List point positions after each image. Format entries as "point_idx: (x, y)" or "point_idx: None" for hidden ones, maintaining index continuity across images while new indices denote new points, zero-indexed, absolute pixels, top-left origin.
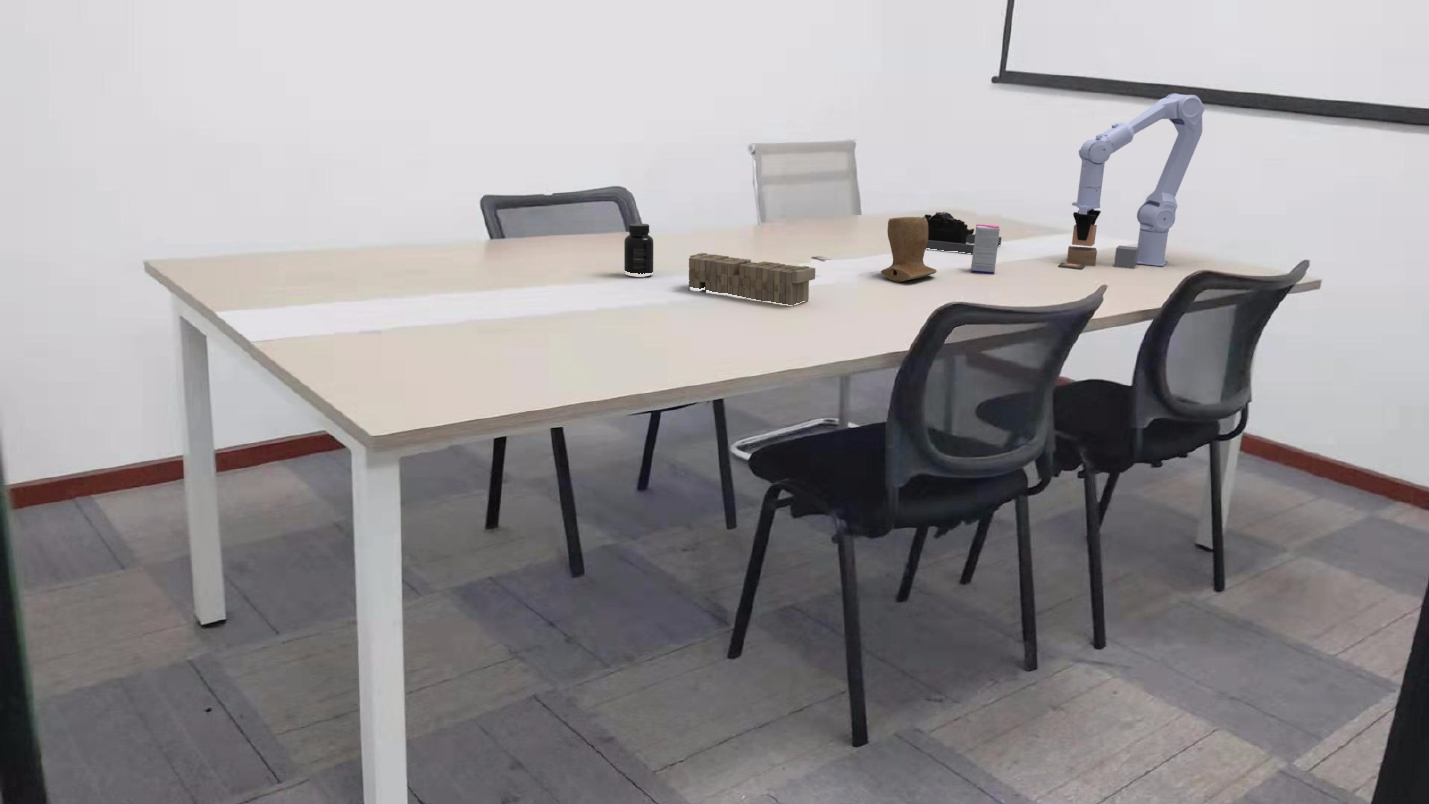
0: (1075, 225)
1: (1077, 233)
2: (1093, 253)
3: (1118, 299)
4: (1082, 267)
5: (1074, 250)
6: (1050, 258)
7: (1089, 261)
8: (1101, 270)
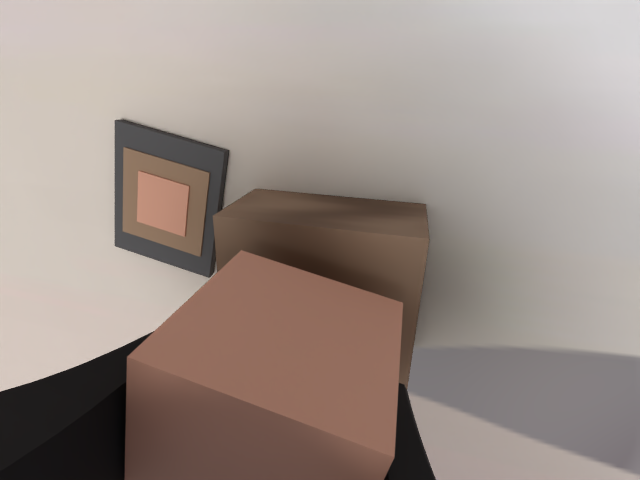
0: (146, 377)
1: (145, 335)
2: None
3: None
4: (132, 251)
5: (216, 252)
6: (450, 83)
7: None
8: (155, 329)
